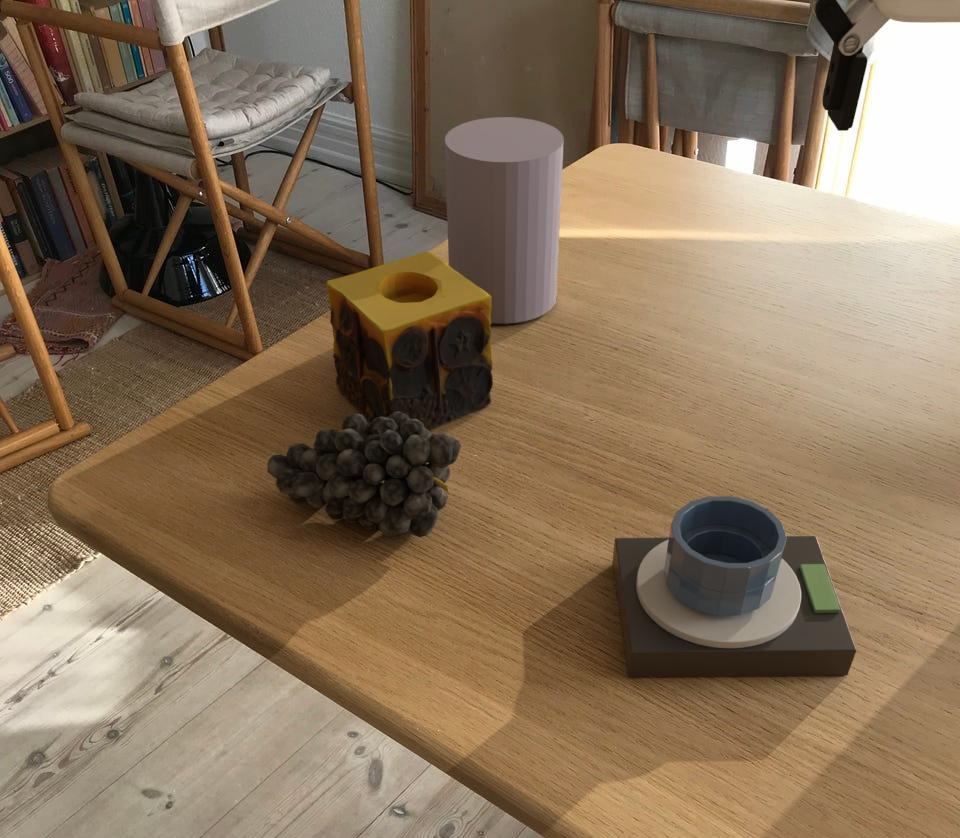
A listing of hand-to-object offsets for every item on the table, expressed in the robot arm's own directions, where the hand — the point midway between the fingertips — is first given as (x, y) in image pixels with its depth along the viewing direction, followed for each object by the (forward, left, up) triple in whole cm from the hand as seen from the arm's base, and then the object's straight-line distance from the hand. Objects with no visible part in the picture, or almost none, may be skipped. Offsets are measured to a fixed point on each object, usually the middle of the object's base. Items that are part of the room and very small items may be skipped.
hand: (919, 121), depth 62 cm
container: (+24, -29, -26) cm, 46 cm away
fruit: (+35, +3, -26) cm, 44 cm away
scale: (+10, +15, -26) cm, 32 cm away
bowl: (+11, +15, -23) cm, 30 cm away
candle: (+32, -12, -26) cm, 43 cm away
